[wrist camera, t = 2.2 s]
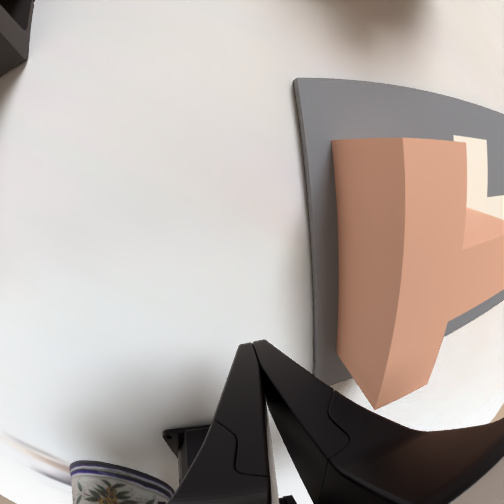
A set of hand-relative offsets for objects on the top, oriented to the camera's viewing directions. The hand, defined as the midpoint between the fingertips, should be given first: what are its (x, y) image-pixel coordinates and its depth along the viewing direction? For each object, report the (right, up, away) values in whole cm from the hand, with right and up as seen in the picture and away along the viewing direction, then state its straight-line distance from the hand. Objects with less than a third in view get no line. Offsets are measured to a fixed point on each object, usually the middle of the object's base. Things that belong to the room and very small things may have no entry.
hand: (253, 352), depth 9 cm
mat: (+14, +5, +7) cm, 16 cm away
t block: (+9, +4, +6) cm, 12 cm away
